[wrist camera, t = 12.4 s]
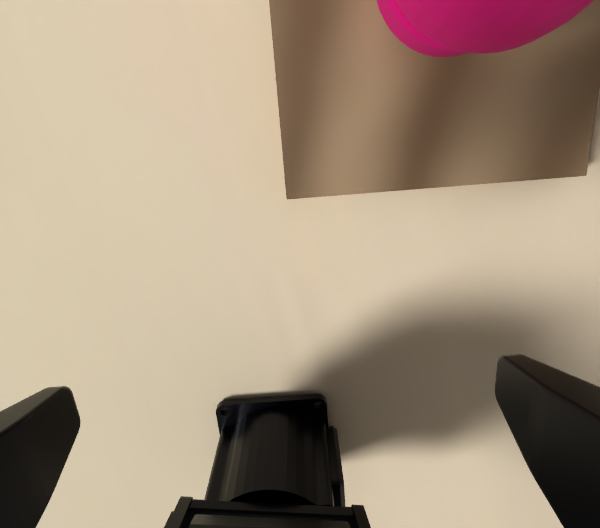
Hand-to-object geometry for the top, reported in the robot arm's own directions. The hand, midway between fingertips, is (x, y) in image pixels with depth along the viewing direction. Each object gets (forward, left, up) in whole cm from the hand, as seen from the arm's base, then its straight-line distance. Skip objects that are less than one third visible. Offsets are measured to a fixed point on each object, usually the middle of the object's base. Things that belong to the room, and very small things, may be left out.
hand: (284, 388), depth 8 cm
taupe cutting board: (+7, +9, -13) cm, 17 cm away
